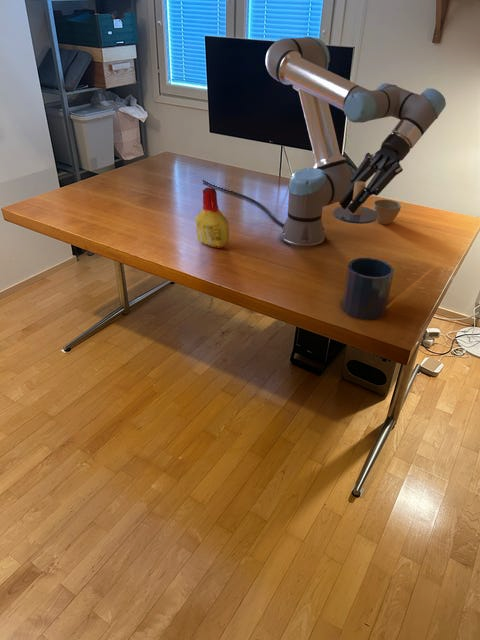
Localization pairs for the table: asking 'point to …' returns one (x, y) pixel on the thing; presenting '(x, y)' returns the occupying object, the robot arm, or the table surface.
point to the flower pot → (386, 210)
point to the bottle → (212, 221)
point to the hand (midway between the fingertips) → (346, 208)
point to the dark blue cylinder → (367, 288)
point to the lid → (360, 214)
